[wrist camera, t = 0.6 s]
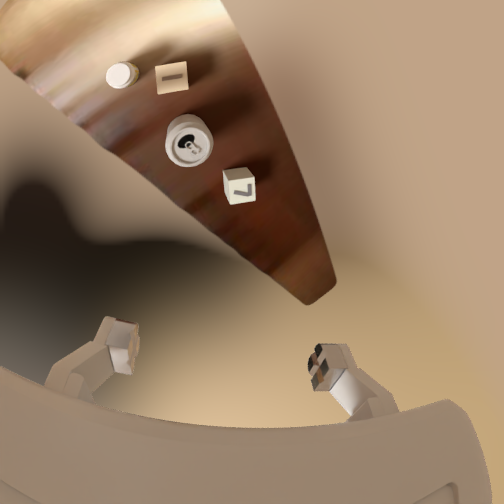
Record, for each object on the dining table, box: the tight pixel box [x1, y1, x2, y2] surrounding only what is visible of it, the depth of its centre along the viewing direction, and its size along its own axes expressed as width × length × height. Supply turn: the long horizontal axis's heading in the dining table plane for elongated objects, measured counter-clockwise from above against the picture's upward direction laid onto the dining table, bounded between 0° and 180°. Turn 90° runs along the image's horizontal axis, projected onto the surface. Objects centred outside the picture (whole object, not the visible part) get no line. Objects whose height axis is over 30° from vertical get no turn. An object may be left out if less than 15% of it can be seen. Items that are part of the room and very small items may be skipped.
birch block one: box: [155, 61, 188, 94], centre depth 37 cm, size 5×5×6 cm
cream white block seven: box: [223, 167, 255, 205], centre depth 53 cm, size 5×5×6 cm
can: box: [165, 114, 213, 167], centre depth 42 cm, size 8×8×12 cm
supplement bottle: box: [106, 61, 139, 88], centre depth 33 cm, size 5×5×8 cm
